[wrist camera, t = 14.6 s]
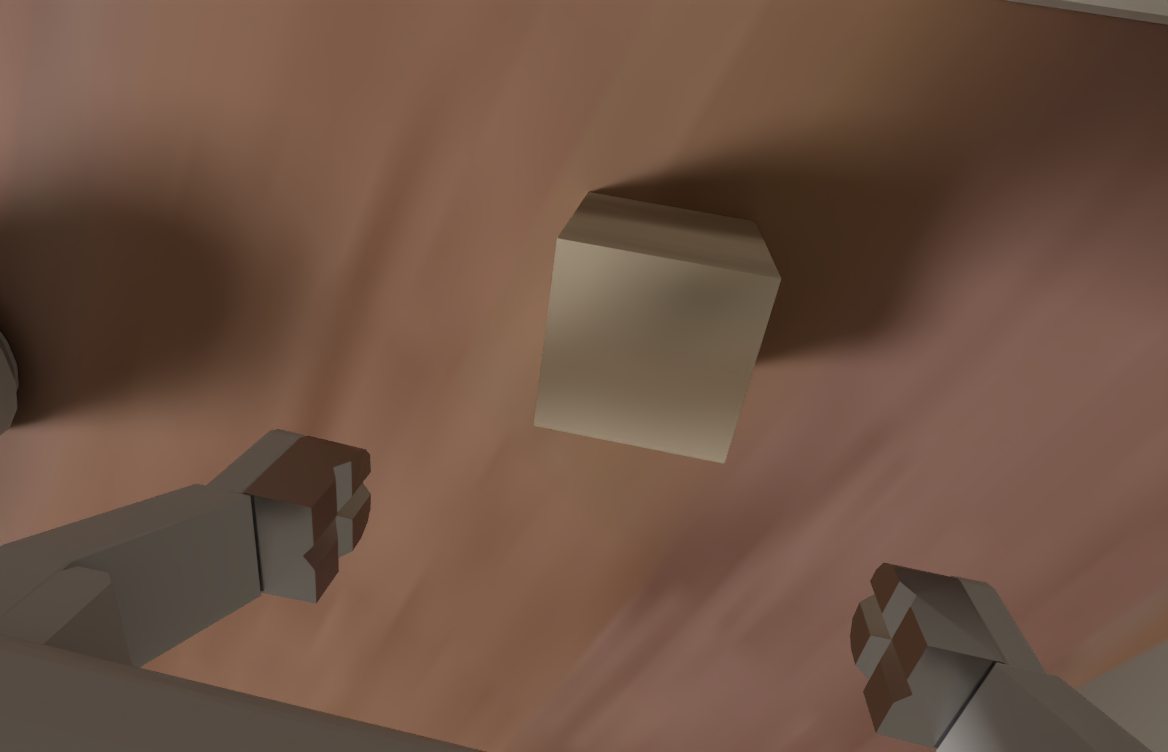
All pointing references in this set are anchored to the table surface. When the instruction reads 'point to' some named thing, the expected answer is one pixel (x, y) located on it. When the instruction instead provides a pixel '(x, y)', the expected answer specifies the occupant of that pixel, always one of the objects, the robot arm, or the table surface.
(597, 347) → the birch block
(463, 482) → the table surface
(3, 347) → the can
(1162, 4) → the build board
